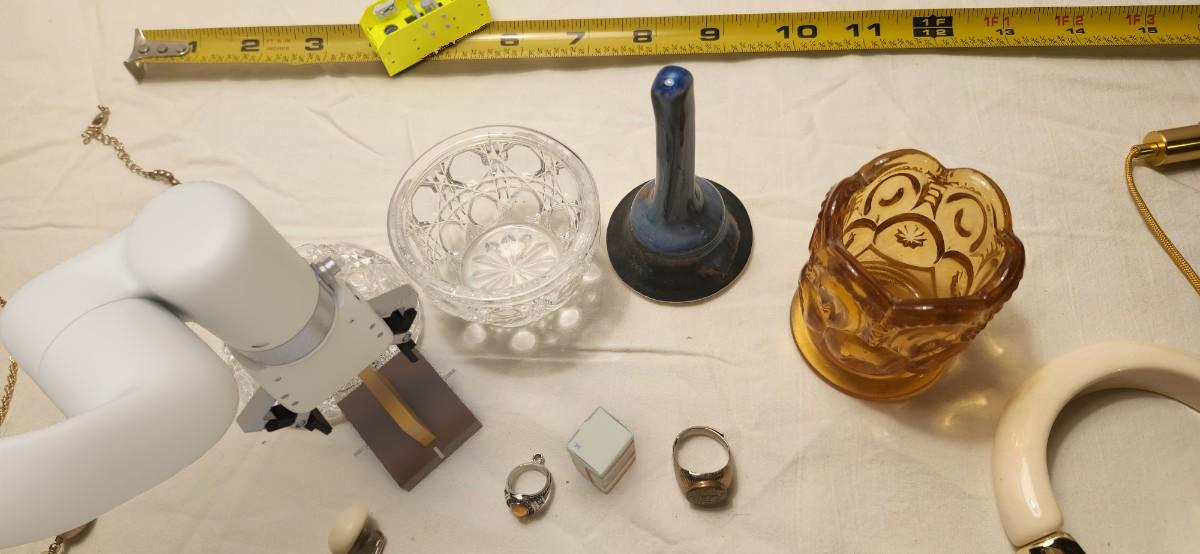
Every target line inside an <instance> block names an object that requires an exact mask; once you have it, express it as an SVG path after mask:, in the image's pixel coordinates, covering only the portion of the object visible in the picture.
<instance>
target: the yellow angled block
mask: <svg viewBox="0 0 1200 554" xmlns="http://www.w3.org/2000/svg"><path fill="white" fill-rule="evenodd" d="M377 370H378V369H377V368H375V367H374V366H373V365H372V364H370V365H369V366H368V367H366V368H365V369H364V370H363V371H361V372H360V373H359V374H358V375H357V376H358V377H359V379H360V380H361V381H362V382H364V383H365V385H366V386H367V387H368V388H369V390H370V391H371V392H372V393H373V394H374V396H375V397H376V398H377V399H378V400H379V402H380V403H381V404H382V405H383V406H384V408H385V409H386V410H387V411H388V413H389V414H390V415H391V416H392V417H393V419H394V420H395V421H396V422H397V423H398V425H399V426H400V427H401V428H402V429H403V431H405V432H406V433H407V434H409V435H410V436H412V437H413V438H414V439H416V440H417V441H418V442H420V443H421V444H423V445H424V446H425V447H426V446H427V445H429V444H430V443H431V442H432V441H433V440H434V439H435V438H436V436H435V435H434V434H433V433H432V432H431V431H430V429H429V428H428V427H427V426H426V425H425V423H424V422H423V421H422V420H421V419H420V418H419V416H418V415H417V414H416V413H415V412H414V410H413V409H412V408H411V407H410V406H409V405H408V403H407V402H406V401H405V400H404V399H403V397H402V396H401V395H400V394H399V393H398V392H397V390H396V389H395V388H394V387H393V386H392V384H391V383H390V382H389V381H388V380H387V379H386V378H385V377H384V376H383V375H382V374H381V373H380V372H378V371H377Z"/></svg>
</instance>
